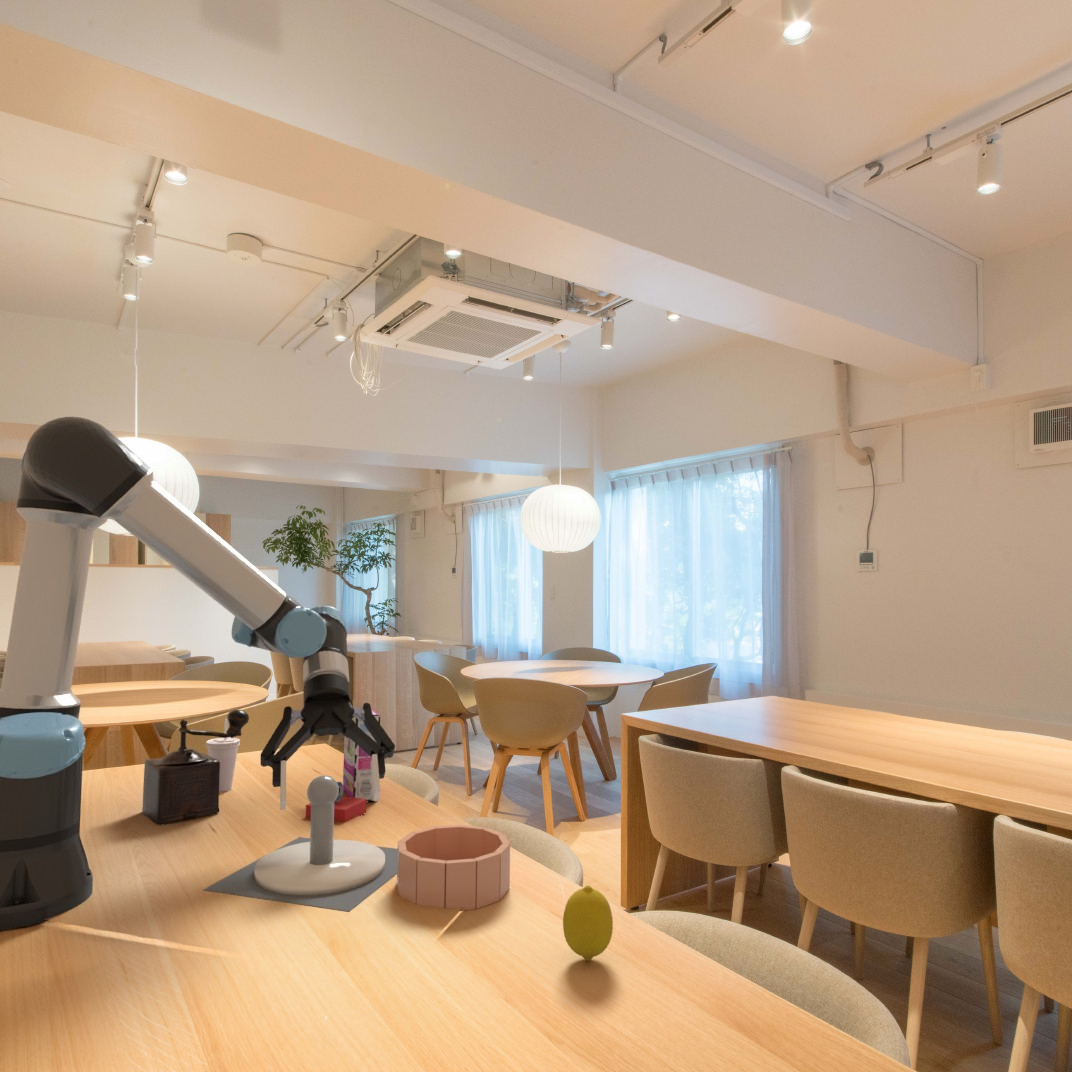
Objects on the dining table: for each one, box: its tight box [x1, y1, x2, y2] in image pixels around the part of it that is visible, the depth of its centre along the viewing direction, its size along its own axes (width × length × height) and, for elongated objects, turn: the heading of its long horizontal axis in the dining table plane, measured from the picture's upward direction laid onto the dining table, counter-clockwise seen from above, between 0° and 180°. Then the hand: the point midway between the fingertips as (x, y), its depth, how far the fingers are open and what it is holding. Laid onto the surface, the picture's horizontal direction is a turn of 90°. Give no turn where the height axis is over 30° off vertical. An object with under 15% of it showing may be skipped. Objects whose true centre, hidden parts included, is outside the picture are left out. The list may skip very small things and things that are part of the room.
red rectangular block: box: [305, 781, 368, 823], centre depth 135 cm, size 8×7×6 cm
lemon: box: [562, 885, 614, 962], centre depth 84 cm, size 6×6×8 cm
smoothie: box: [205, 718, 241, 793], centre depth 151 cm, size 6×6×14 cm
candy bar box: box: [342, 706, 381, 803], centre depth 148 cm, size 11×5×16 cm, turn 25°
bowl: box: [396, 824, 511, 912], centre depth 104 cm, size 15×15×6 cm
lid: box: [254, 774, 385, 895], centre depth 109 cm, size 18×18×13 cm
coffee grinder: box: [141, 709, 250, 826], centre depth 138 cm, size 16×11×18 cm
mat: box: [202, 836, 398, 913], centre depth 108 cm, size 22×22×1 cm
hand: (330, 800), depth 113 cm, fingers open, 13 cm apart
